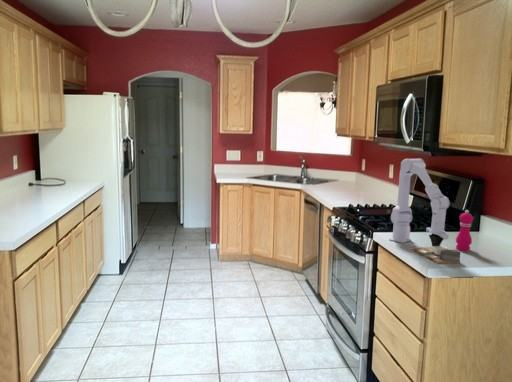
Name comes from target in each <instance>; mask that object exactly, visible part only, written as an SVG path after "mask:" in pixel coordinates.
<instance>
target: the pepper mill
mask: <svg viewBox="0 0 512 382" xmlns="http://www.w3.org/2000/svg"><path fill="white" fill-rule="evenodd" d="M469 212H470V210H468V209H466V210H465V211H464V212H463V213H461V214H460V215H459V221H460V222H459V225H460V229H459V233H457V235H456V237H455V243H456V245H455V250H458V251H460V252H461V251H462V252H469V251H470V249H471V246H470V245H471V244H472V242H473V240H472V235H471V232H470V229H471V227H472V222H473V220H474V217H473V215H472V214H471V213H469Z"/></svg>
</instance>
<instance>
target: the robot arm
mask: <svg viewBox="0 0 512 382" xmlns="http://www.w3.org/2000/svg"><path fill="white" fill-rule="evenodd" d="M426 165H427V164H426V163H425V160H424V159H422V157H421V158H405V159H402V161H401V162H400V170H399V176H398V177H399V179H398V190H397V191H398V192H397V193H398V194H397V203H396V206H395V207H393V208H392V211H391V215H390V221H391V222H392V224H393V226H392V227H393V228H392V237H391V238H389V241H392V242H397V243H402V244H405V243H407V242H409V241H411V240H412V238H410V235H411V226H410V223H411V222H412V221H413V214H412V213H413V212H412V210H413V209H411V208H410V206H409V203H410V202H409V201H410V190H411V189H410V188H411V177H412V176H413V175H417V176H418V178H419V179H420V180H421V181H422V183H423V185H424V186H425V188H424V190H425V192H426V194H427V196H428V197H429V200H430V206H431V212H432V216H431V226H429V227H426V229H425V230H426V231H425V232H426V233H430V234H428V236H429V239H430V242H431V247H432V246H441V245H442V242H443V241H444V240H449V234H447V233H446V231H445V225H446V223H445V222H446V215H447V209H449V207H450V203H451V202H450V200H449V197H447V196H445V195H444V194H443V193H442V191H441V190H440V188H439V185H438V184H436V183H433V181H432V179H431V177H430V175H429V173H428V171H427V168H426V167H427V166H426Z"/></svg>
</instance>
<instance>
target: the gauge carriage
mask: <svg viewBox="0 0 512 382" xmlns="http://www.w3.org/2000/svg"><path fill="white" fill-rule="evenodd" d="M431 247H432V250H431V252H426V253H427V254H432V253H434V254H436V255H440V252H441V250H449V248H448V247H446V246H444V245H440V246H432V245H431Z"/></svg>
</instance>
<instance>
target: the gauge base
mask: <svg viewBox="0 0 512 382" xmlns="http://www.w3.org/2000/svg"><path fill="white" fill-rule="evenodd" d="M411 250H412V251H413V250H414V251H413V252H416V253H417V254H419V255H421V256H422V255H423V257H425V259H428V260H430V261H432V262H433V263H436V264H457V263H458V264H459V263H461V250H457V249H448V250H441V252H440V255H436V254H434V253H432V254H427V253H426V252H431V250H432V246H424V247H423V246H420V247H418V246H417V247H411Z"/></svg>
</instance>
